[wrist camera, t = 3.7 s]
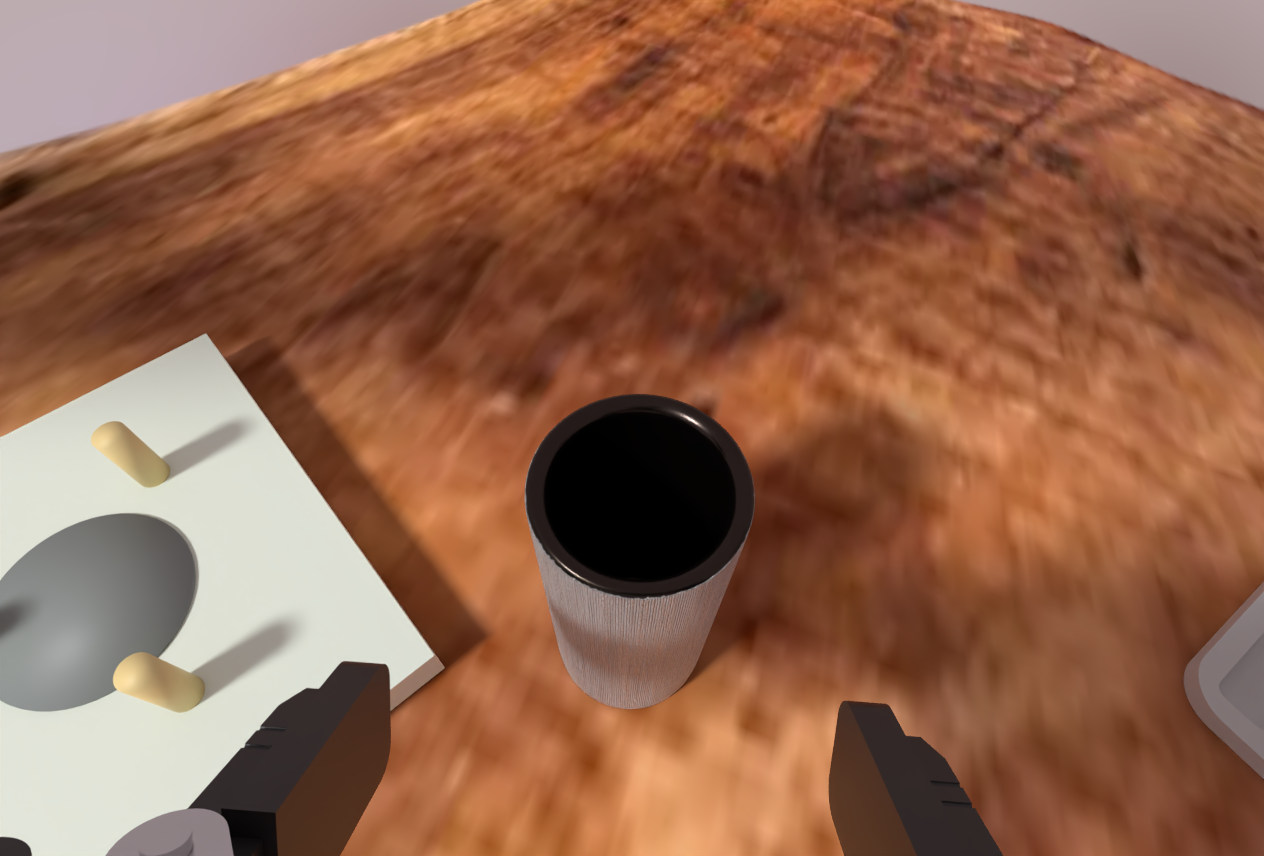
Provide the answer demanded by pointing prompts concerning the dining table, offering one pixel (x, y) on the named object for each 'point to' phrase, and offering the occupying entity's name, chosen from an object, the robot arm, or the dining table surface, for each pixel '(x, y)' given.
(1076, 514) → the dining table surface
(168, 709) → the board
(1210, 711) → the phone holder
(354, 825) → the robot arm
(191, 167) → the dining table surface
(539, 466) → the grey metal tumbler
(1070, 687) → the dining table surface
